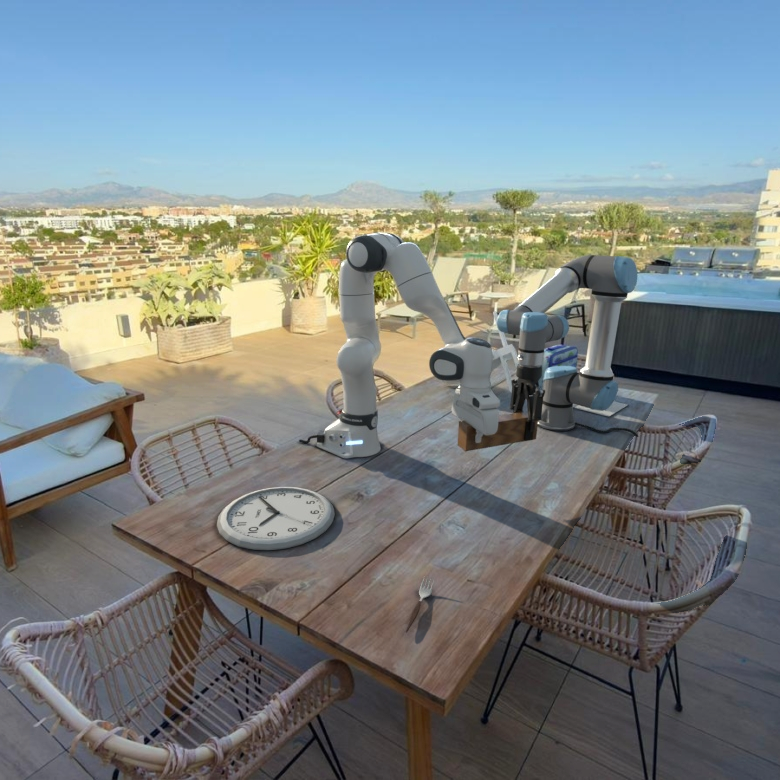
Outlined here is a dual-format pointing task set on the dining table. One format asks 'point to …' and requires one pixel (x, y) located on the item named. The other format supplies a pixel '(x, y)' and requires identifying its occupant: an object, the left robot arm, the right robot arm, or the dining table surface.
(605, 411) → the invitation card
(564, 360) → the lunch box
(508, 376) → the white plastic object
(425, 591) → the fork
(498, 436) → the bar
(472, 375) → the left robot arm
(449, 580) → the dining table surface
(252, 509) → the wall clock
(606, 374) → the right robot arm
